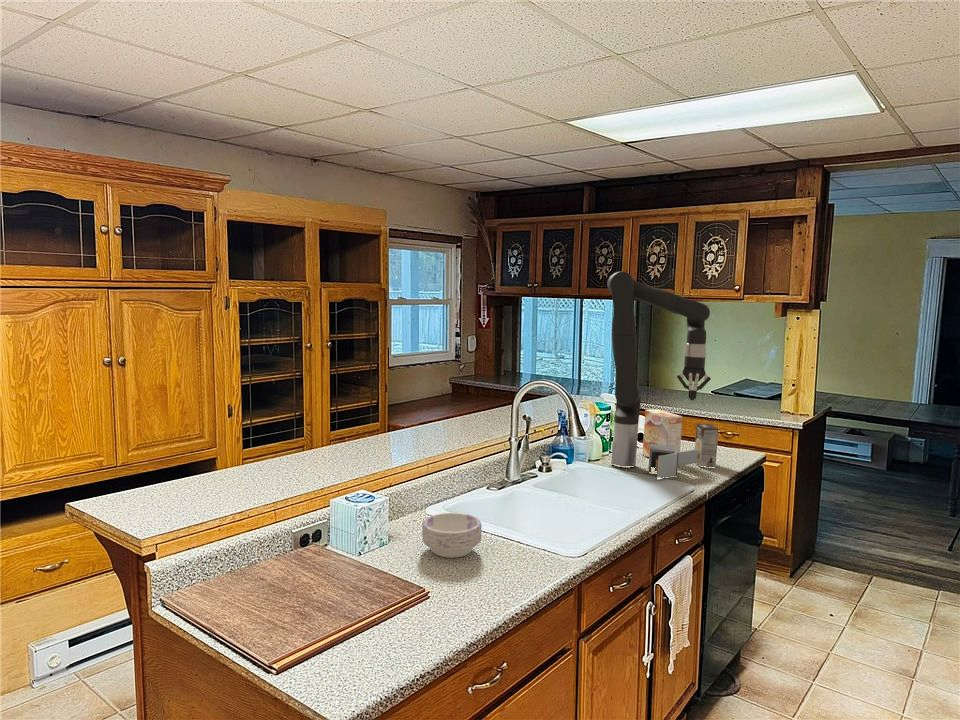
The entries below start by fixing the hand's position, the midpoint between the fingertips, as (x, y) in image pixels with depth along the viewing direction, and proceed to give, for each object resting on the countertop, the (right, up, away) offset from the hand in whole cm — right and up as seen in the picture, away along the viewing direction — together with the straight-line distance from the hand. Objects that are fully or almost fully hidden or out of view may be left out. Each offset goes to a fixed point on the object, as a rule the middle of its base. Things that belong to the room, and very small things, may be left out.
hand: (691, 399), depth 258 cm
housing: (-13, -27, -4) cm, 30 cm away
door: (-9, -28, -11) cm, 31 cm away
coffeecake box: (-8, -26, +14) cm, 30 cm away
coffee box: (+8, -27, +8) cm, 29 cm away
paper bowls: (-89, -34, -85) cm, 128 cm away
